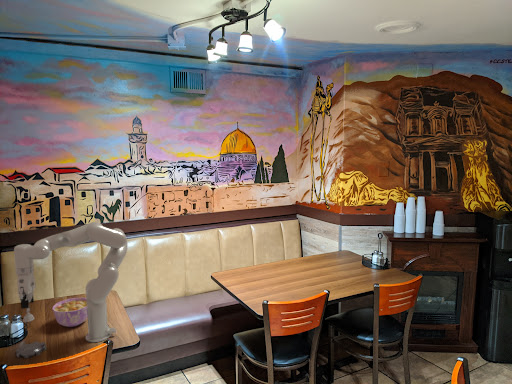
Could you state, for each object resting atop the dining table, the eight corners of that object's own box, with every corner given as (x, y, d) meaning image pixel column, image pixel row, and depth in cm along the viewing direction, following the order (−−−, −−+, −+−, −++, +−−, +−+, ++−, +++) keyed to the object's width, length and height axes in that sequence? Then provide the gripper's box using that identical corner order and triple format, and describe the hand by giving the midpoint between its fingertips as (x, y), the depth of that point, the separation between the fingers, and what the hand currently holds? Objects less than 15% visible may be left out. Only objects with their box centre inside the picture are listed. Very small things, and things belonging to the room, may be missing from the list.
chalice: (18, 319, 187) (16, 284, 184) (34, 315, 191) (31, 280, 189) (22, 324, 181) (19, 288, 179) (38, 319, 186) (35, 284, 184)
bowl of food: (77, 333, 206) (75, 313, 204) (45, 330, 210) (43, 310, 208) (99, 317, 225) (98, 298, 224) (69, 314, 229) (68, 296, 228)
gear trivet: (49, 343, 196) (49, 340, 196) (41, 356, 184) (41, 353, 183) (22, 345, 193) (21, 343, 193) (11, 359, 181) (11, 357, 181)
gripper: (26, 275, 176) (29, 312, 178) (39, 263, 192) (41, 297, 195) (8, 276, 174) (11, 313, 176) (23, 265, 191) (25, 299, 193)
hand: (27, 305), depth 185 cm, fingers closed on chalice, 5 cm apart
